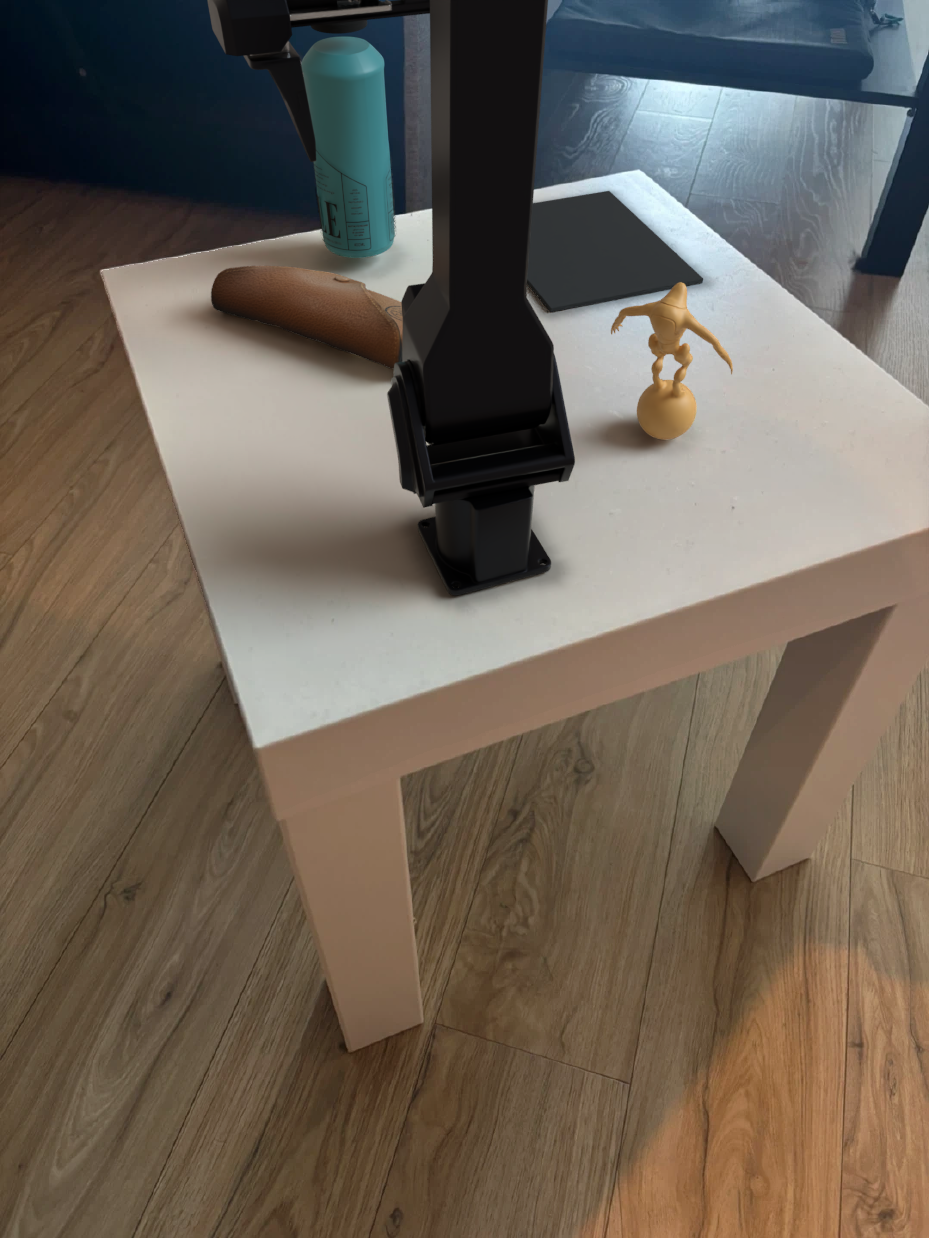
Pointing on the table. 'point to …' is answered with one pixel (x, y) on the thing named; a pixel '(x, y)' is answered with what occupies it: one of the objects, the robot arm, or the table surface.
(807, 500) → the table surface
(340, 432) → the table surface
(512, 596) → the table surface
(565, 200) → the mat
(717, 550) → the table surface
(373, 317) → the sunglasses case
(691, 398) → the figurine
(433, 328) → the robot arm
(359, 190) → the beverage bottle
